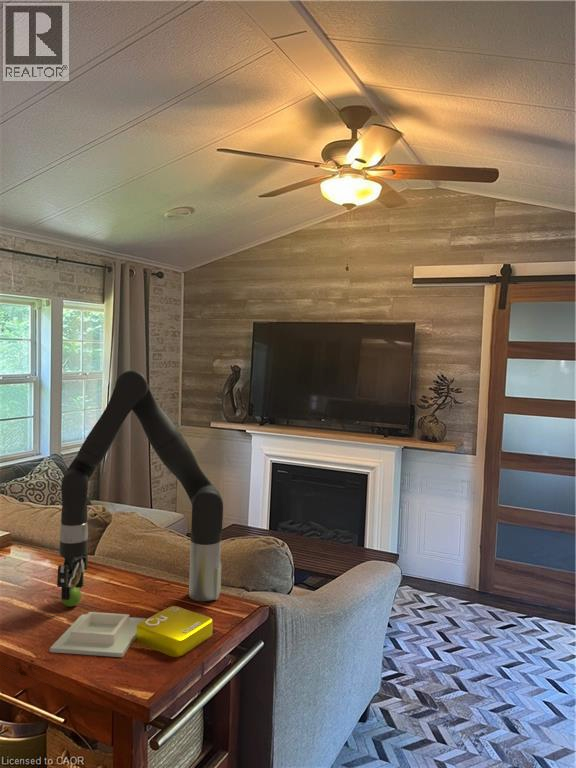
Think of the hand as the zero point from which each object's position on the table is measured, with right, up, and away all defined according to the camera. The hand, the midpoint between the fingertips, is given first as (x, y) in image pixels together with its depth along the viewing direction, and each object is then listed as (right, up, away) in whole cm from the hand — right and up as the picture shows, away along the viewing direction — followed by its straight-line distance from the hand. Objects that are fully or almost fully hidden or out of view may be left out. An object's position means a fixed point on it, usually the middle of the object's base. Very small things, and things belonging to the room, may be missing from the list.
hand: (72, 593), depth 158 cm
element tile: (+33, -6, -16) cm, 37 cm away
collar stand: (+14, -5, -17) cm, 22 cm away
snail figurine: (0, -4, 0) cm, 4 cm away
